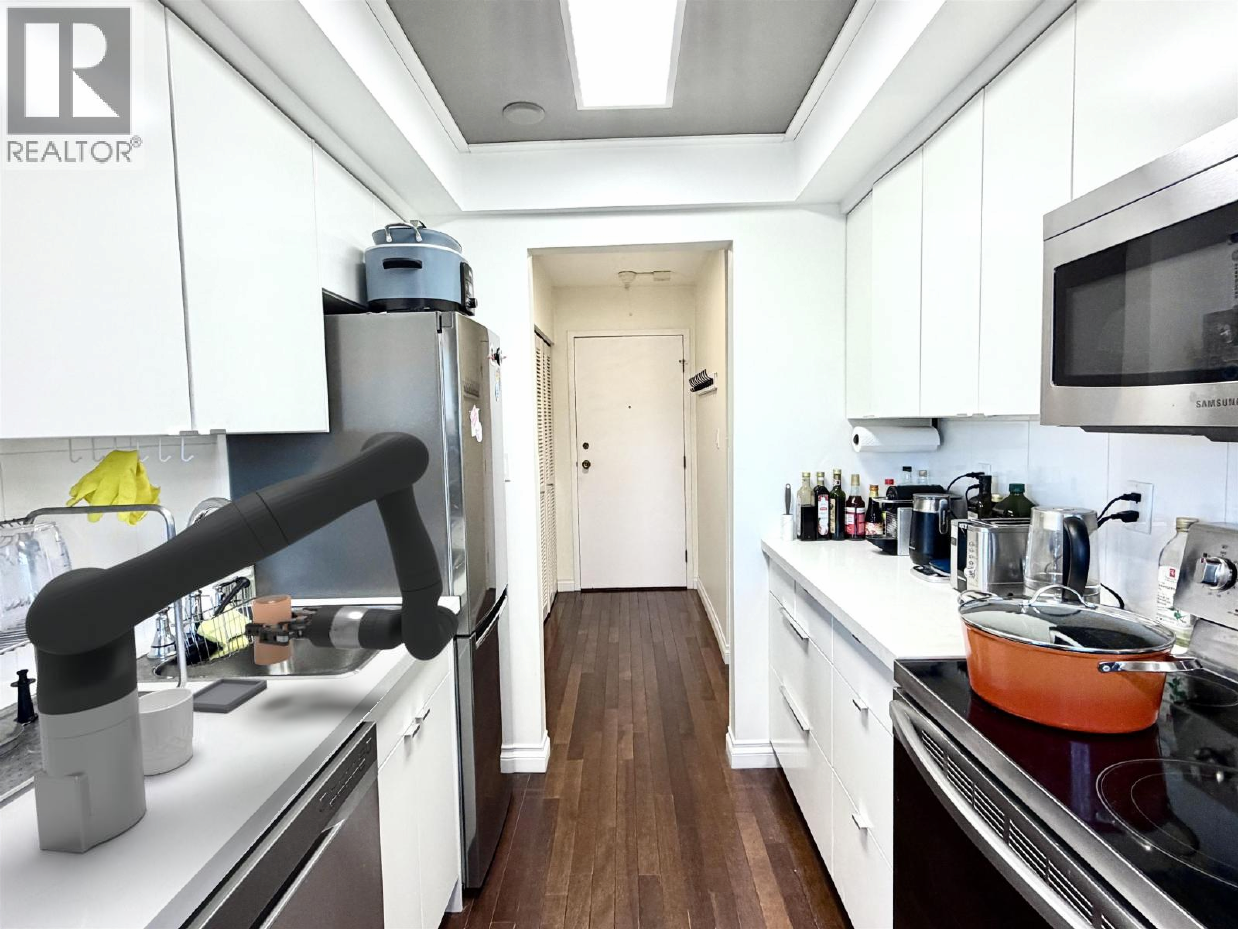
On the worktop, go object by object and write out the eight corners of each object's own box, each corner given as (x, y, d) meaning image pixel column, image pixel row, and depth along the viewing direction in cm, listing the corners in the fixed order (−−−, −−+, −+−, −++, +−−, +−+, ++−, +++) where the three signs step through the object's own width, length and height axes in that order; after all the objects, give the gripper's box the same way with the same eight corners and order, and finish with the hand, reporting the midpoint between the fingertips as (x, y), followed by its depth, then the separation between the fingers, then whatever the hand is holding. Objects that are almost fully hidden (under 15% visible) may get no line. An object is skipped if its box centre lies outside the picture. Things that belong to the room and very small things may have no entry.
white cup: (139, 785, 80) (134, 718, 79) (124, 765, 85) (119, 702, 84) (204, 759, 86) (200, 697, 86) (187, 741, 91) (183, 682, 90)
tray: (227, 713, 100) (226, 704, 100) (179, 710, 101) (178, 701, 101) (267, 688, 109) (266, 680, 109) (222, 685, 111) (222, 677, 110)
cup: (277, 666, 100) (275, 605, 99) (246, 664, 100) (244, 603, 100) (300, 652, 106) (298, 595, 105) (270, 651, 106) (269, 593, 106)
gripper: (367, 595, 108) (287, 591, 110) (319, 620, 94) (227, 615, 96) (368, 633, 108) (288, 629, 110) (320, 664, 94) (229, 658, 96)
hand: (260, 622), depth 103 cm, fingers closed on cup, 6 cm apart
